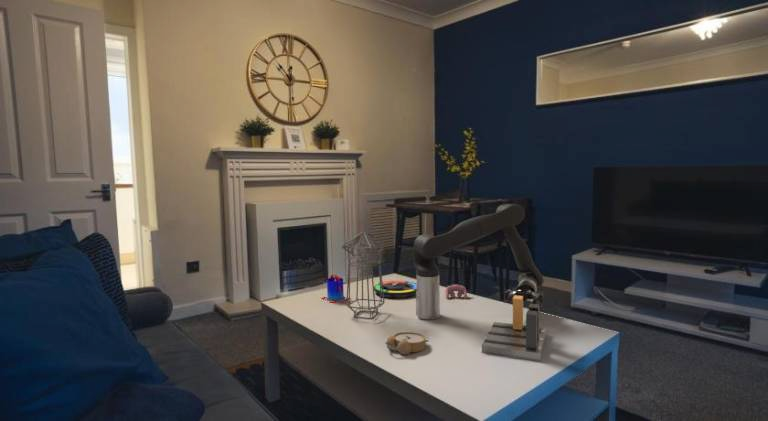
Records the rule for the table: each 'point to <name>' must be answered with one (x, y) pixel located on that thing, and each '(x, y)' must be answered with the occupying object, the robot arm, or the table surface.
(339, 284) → the fantasy tower
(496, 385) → the table surface
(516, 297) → the orange rectangular block
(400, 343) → the alarm clock
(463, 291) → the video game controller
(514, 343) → the grey slotted base
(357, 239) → the geometric lantern
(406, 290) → the electronic game
